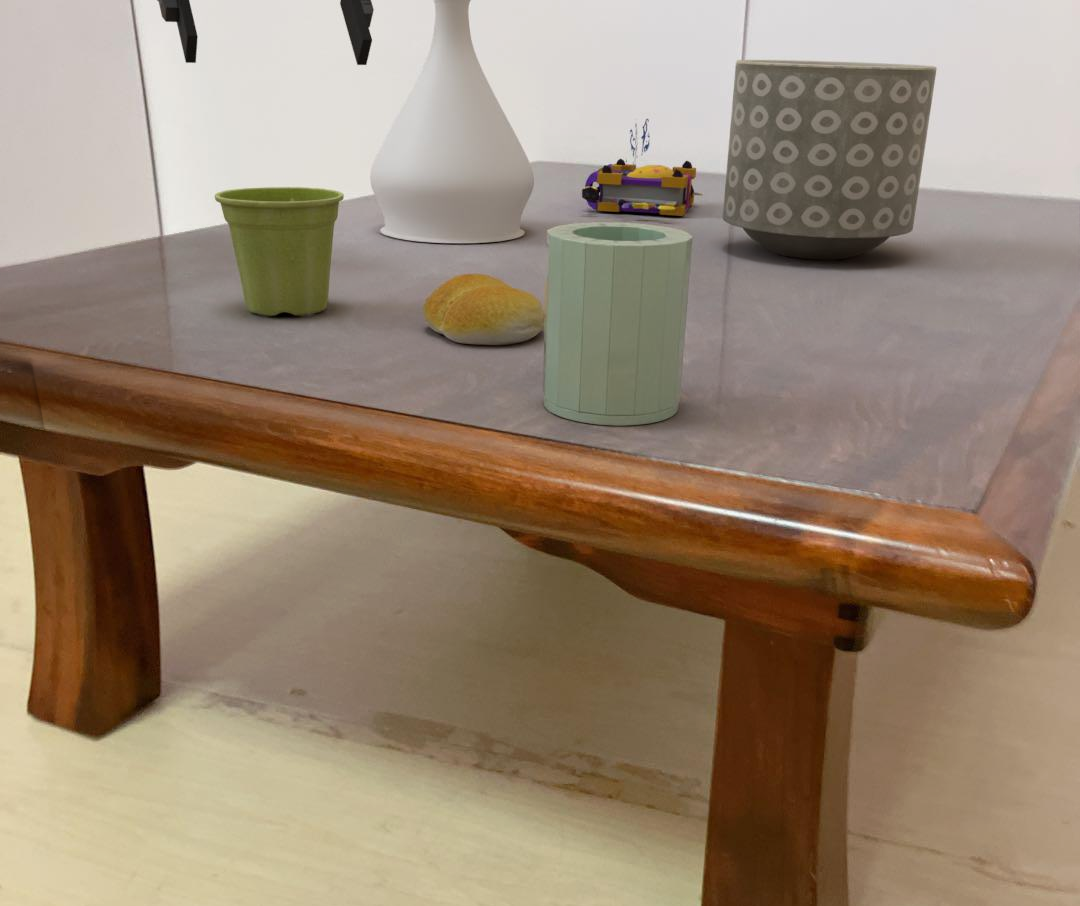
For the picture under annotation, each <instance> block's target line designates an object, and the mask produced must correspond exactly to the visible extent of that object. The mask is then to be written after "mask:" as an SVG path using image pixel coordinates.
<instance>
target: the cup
mask: <svg viewBox="0 0 1080 906" xmlns="http://www.w3.org/2000/svg"><path fill="white" fill-rule="evenodd" d="M692 249H693V236H692V235H691V234H690V233H688V232H687V231H684V230H681V229H679V228H674V227H669V226H662V225H657V224H656V225H655V224H648V223H647V224H646V223H633V222H605V221H598V222H597V221H595V222H594V221H593V222H574V223H568V224H561V225H555V226H553V227H551V228H549V229H547V230H546V255H545V256H546V257H545V258H546V259H545V260H546V262H545V295H544V315H545V319H544V327H543V364H542V365H543V367H542V368H543V369H542V394H543V399H542V402H543V406H544V408H545V409H546V410H548V412H550V413H552V414H553V415H555V416H557V417H561V418H563V419H566V420H570V421H574V422H578V423H584V424H590V425H600V426H620V427H621V426H623V427H624V426H626V427H627V426H640V425H641V426H642V425H648V424H649V425H650V424H654V423H658V422H662V421H665V420H668V419H670V418H672V417H673V416H675V415H676V414H677V412H678V411H679V405H680V400H681V395H682V381H683V380H682V379H683V370H684V369H683V368H684V357H685V356H684V354H685V342H686V341H685V340H686V328H687V317H688V315H687V314H688V304H689V303H688V301H689V290H690V289H689V288H690V275H691V262H692V251H693V250H692Z"/></svg>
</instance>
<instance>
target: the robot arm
mask: <svg viewBox="0 0 1080 906" xmlns="http://www.w3.org/2000/svg"><path fill="white" fill-rule="evenodd" d="M156 2H158V5H159V9H160V14H161V17H162V19H163V20H164V22H165V23H166V22H167V23H176V25H177V30H178V34H179V40H180V43H181V47H182V52H183V57H184V60H185V63H186V64H189V63H190V64H196V63H197V50H198V37H199V36H198V33H197V27H196V23H195V19H194V15H193V10H192V6H191V2H190V0H156ZM339 5H340V8H341V12H342V16H343V19H344V23H345V27H346V29H347V30H346V31H347V34H348V37H349V40H350V44H351V47H352V51H353V55H354V58H355V62H356V65H357V66H367V64H368V59H369V57H370V51H371V47H372V43H373V38H372V35H371V30H370V27H371V25H372V19H373V16H374V11H375V10H374V6H373V2H372V0H340V2H339Z"/></svg>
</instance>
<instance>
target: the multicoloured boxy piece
mask: <svg viewBox="0 0 1080 906" xmlns="http://www.w3.org/2000/svg"><path fill="white" fill-rule="evenodd" d="M634 120H636V119H634ZM648 123H649V118H646V119H645V121H644V125H642V132H643V133H642V134H643V135H642V136H641V137H640V138H641V140H642V147H641V154H640V156H643V153H646V152H647V151H648V150H649V147H650V138H651V137H650V136H651V135H650V132H648ZM634 126H635V134H633V129H632V128H630V130H629V133H630V134H631V135H630V140H629V144H630V149H631V151H632V157H634V161H632V164H630V163H628V162H627V159H625V160H624V159H622V158H619V159H618V160H617V161H616V163H609V164H604V165H603V166H602V167H600V168H598V169H597V170H595V171H593V172H592V173H590V175H588V177H587V178H586V180H585V184H584V187H583V188H582V189H581V198H582V199H584V200H585V201H586V202H587V205H588V206H589V207H590V208H591V209H594V210H597V211H598V212H614V213H615V212H616V213H619V212H632V213H633V212H634V213H650V214H659V215H663V216H678V217H679V216H680V217H682V216H684V215H685V214H686V211H688V209H689V208H690V206H692V205H693V204H694V202H695V196H701V197H703V193H700V192H695V190H694V187H693V181H692V180H694V179H695V178H696V177H697V167H693V165H692V162H691V161H689V160H685V161H684V163H682V165H681V166H673V167H672V168H670V167H669V166H665V165H661V164H649V165H648V164H647V165H643V166H640V167H637V164H635V162H636V159H637V156H635V154H637V151H638V144H639V143H637V138H638V128H637V123H635V125H634ZM647 132H648V133H647ZM634 135H635V136H634ZM646 137H648V140H646ZM632 141H633V142H635V147H634V145H633V143H632ZM645 143H647V144H645ZM594 183H596V184H597V185H598V186H597V187H596V186H594Z"/></svg>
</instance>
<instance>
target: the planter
mask: <svg viewBox="0 0 1080 906" xmlns="http://www.w3.org/2000/svg"><path fill="white" fill-rule="evenodd" d="M734 68H735V69H734V79H733V80H734V81H733V91H732V92H733V93H732V104H731V116H730V125H729V139H728V149H727V150H728V151H727V160H726V161H727V162H726V173H725V185H724V196H723V207H722V208H723V209H722V221H724V222H725V223H726V224H729V225H732V226H734V227H739V228H741V229H742V230H743V231H744V232H745V233H746V235H747V236H749V238H750V239H752V240H753V241H754V242H756V243H757V244H759V245H760V246H762V247H764V248H765V249H767V250H769V251H771V252H773V253H775V254H778V255H781V256H785V257H790V258H796V259H805V260H820V261H821V260H822V261H825V260H827V261H831V260H833V261H834V260H845V259H850V258H853V257H856V256H859V255H862V254H864V253H866V252H869V251H871V250H873V249H875V248H877V247H879V246H880V245H882V244H883V243H885V242H886V241H887V240H888V239H890V238H892V237H899V236H902V235H906V234H910V233H911V232H913V230H914V225H915V217H916V210H917V205H918V198H919V197H918V196H919V191H920V184H921V183H920V182H921V178H922V177H921V176H922V170H923V163H924V158H925V157H924V156H925V149H926V144H927V137H928V130H929V122H930V116H931V111H932V103H933V96H934V91H935V82H936V77H937V69H938V68H937V66H935V65H923V64H922V65H921V64H907V63H906V64H905V63H904V64H903V63H886V62H885V63H884V62H883V63H882V62H881V63H880V62H855V61H827V60H826V61H825V60H821V61H820V60H793V59H792V60H790V59H789V60H788V59H787V60H786V59H782V60H781V59H737V60H736V61H735V66H734Z"/></svg>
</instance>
